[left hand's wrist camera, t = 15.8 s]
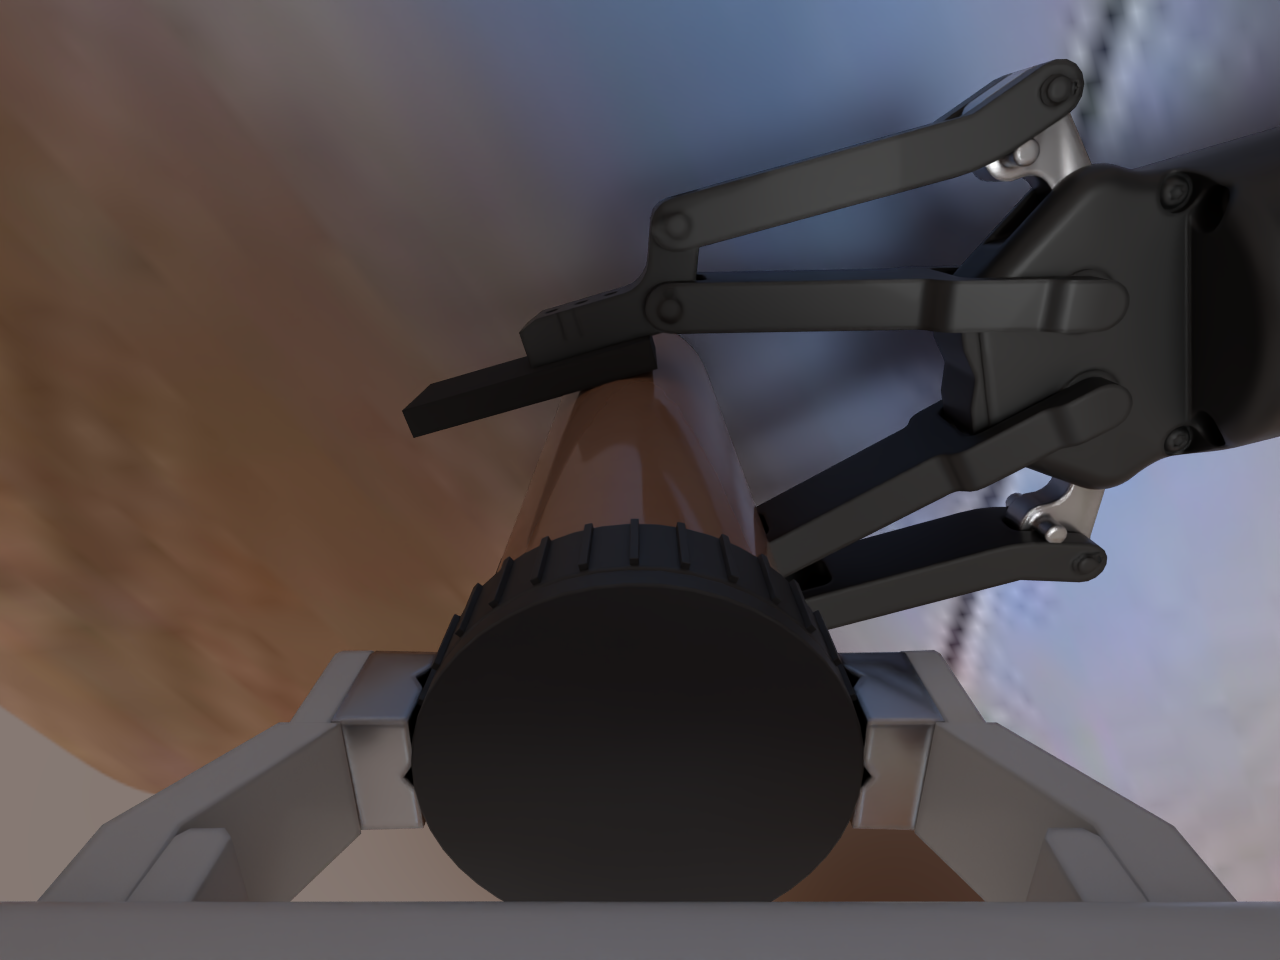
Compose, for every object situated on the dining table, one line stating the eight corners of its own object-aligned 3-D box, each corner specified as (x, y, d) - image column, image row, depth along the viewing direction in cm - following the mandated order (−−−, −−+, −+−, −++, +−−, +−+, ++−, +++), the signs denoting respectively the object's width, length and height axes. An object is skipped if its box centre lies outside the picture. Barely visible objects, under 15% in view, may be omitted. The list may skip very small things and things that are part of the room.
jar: (736, 412, 26) (897, 785, 10) (621, 485, 27) (594, 932, 11) (658, 294, 25) (695, 503, 8) (539, 377, 26) (363, 707, 9)
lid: (749, 447, 9) (772, 498, 8) (888, 771, 11) (928, 863, 10) (360, 611, 10) (310, 687, 9) (553, 885, 12) (540, 986, 11)
